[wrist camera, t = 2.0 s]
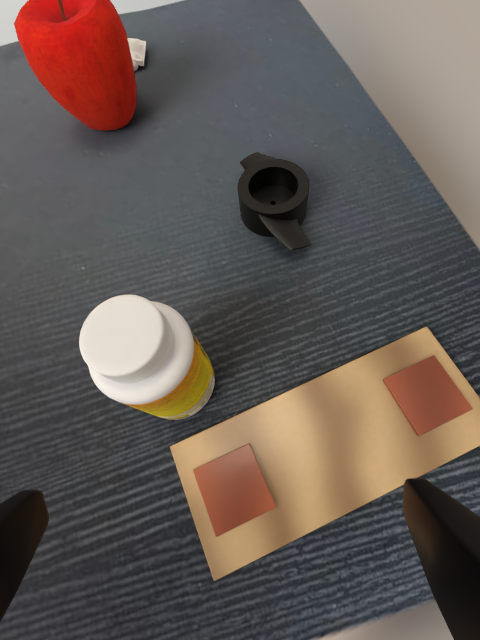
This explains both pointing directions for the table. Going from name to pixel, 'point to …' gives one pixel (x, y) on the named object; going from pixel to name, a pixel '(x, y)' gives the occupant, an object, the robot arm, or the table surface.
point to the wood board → (325, 449)
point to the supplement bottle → (146, 357)
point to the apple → (81, 58)
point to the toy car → (137, 52)
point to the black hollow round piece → (274, 199)
